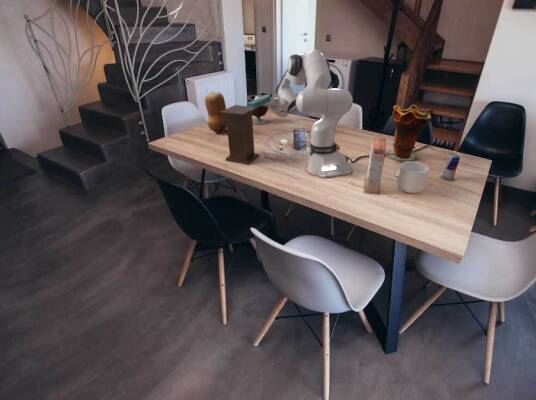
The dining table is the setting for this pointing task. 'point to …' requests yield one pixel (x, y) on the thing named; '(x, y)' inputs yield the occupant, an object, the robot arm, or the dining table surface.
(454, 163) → the energy drink
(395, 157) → the decorative vase
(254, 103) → the batten
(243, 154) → the plinth
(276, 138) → the dining table surface
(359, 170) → the dining table surface
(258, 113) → the mate gourd
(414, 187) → the handleless ceramic cup
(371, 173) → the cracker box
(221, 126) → the butternut squash
